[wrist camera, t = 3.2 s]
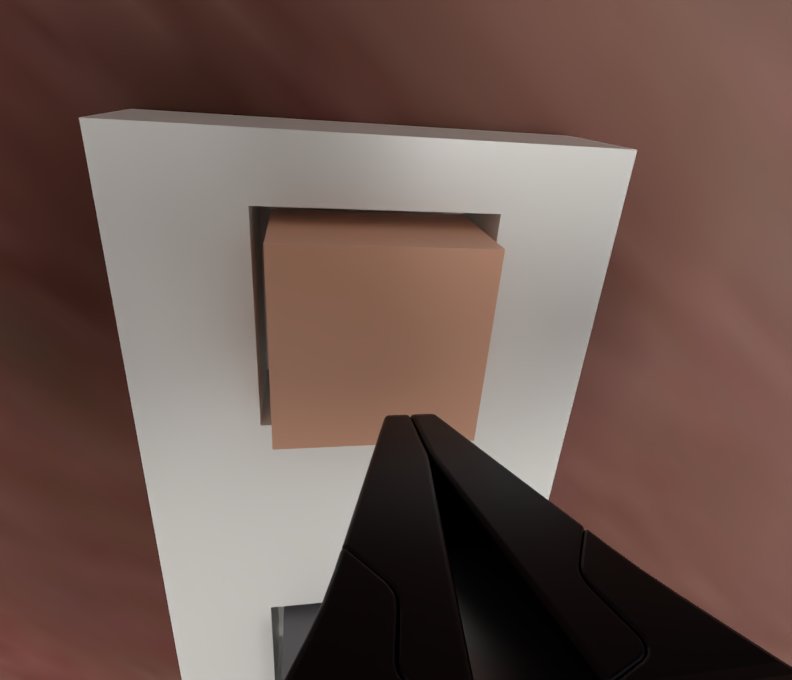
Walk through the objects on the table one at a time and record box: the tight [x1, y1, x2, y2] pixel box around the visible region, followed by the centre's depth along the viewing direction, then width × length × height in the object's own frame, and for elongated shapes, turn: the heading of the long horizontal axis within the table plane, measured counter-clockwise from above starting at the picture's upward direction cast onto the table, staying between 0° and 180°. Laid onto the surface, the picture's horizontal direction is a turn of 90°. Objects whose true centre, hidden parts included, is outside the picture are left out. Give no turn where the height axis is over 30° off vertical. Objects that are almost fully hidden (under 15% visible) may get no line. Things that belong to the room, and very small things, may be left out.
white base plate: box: [79, 109, 637, 680], centre depth 18 cm, size 22×12×4 cm, turn 176°
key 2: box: [281, 603, 322, 680], centre depth 18 cm, size 5×5×3 cm
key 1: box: [263, 209, 505, 450], centre depth 13 cm, size 5×5×3 cm
